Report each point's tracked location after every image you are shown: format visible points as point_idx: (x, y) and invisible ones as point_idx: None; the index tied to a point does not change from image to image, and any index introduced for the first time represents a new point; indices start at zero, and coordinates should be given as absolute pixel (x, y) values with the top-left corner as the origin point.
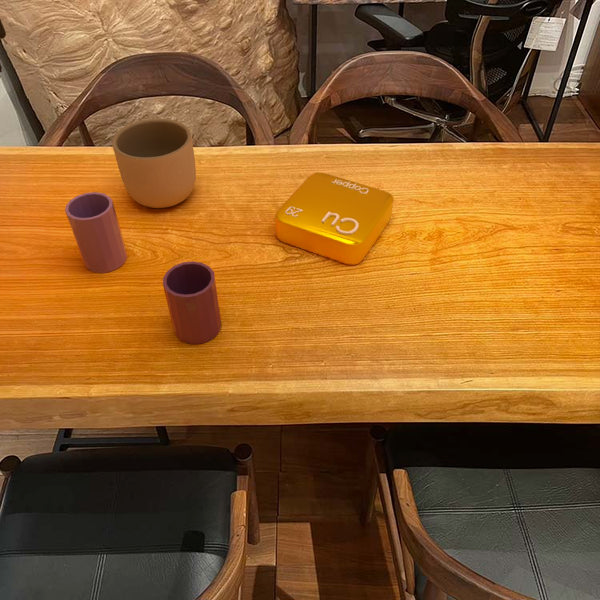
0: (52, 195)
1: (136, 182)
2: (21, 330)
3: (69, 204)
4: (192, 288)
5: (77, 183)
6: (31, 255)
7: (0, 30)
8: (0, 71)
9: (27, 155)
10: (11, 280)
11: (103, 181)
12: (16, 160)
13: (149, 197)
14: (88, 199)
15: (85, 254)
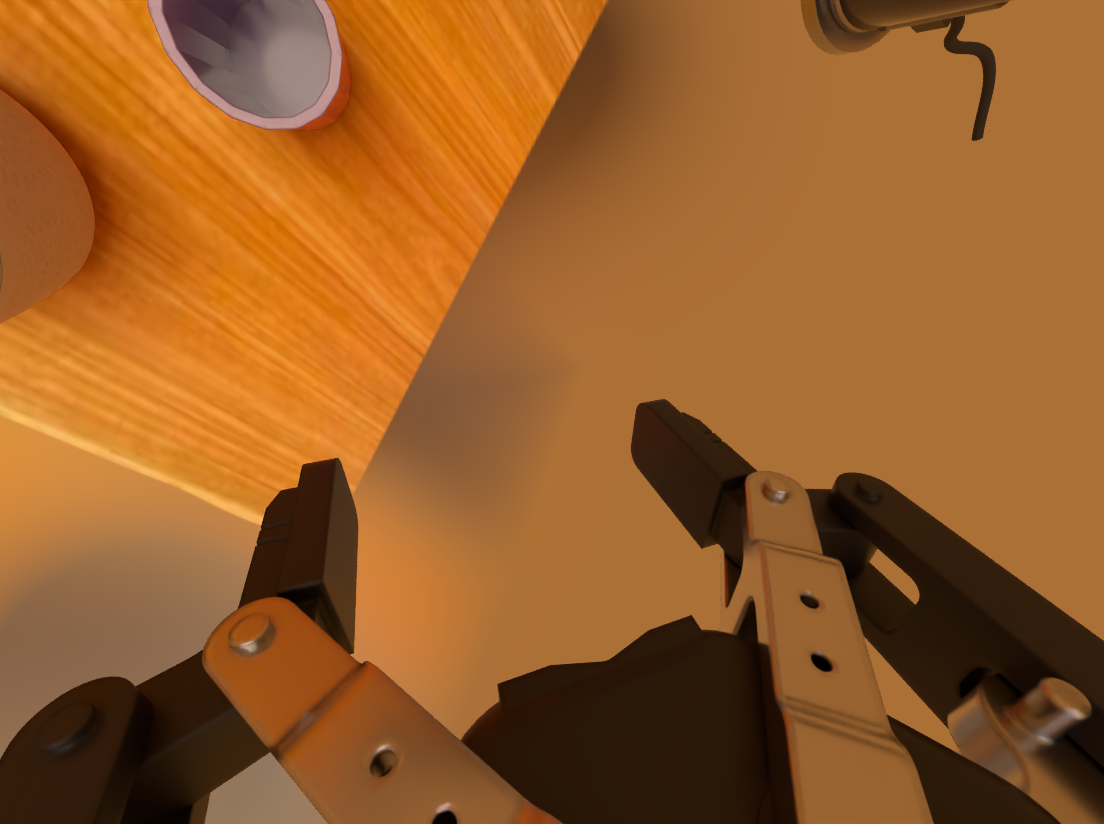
0: (301, 384)
1: (14, 140)
2: (556, 30)
3: (311, 107)
4: None
5: (228, 388)
6: (428, 235)
7: (50, 764)
8: (285, 493)
9: None
10: (493, 196)
11: (158, 357)
12: None
13: (10, 102)
14: (236, 106)
15: (343, 45)
